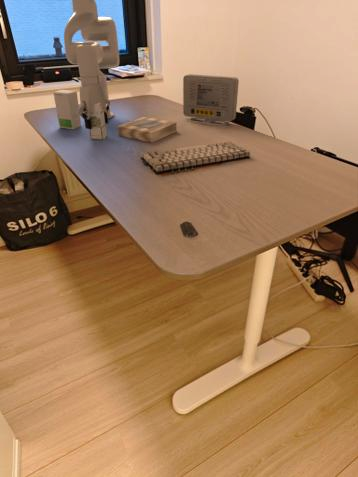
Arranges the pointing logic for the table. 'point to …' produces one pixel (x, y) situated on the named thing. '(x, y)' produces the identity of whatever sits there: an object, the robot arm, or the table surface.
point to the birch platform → (147, 129)
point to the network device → (210, 98)
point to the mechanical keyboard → (193, 158)
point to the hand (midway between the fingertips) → (97, 125)
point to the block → (188, 229)
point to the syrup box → (97, 123)
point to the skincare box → (67, 109)
